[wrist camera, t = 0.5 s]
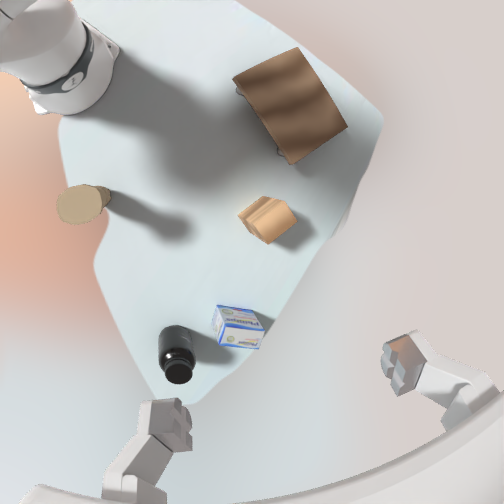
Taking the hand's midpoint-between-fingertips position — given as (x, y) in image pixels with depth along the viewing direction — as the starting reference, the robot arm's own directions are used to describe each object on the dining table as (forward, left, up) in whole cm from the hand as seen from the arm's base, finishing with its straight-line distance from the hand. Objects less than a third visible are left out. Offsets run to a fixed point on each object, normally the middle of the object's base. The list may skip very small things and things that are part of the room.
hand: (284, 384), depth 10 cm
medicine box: (+21, -6, -43) cm, 48 cm away
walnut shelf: (-7, +26, -43) cm, 51 cm away
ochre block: (+7, +10, -43) cm, 45 cm away
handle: (-13, -10, -43) cm, 46 cm away
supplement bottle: (+17, -18, -43) cm, 50 cm away
